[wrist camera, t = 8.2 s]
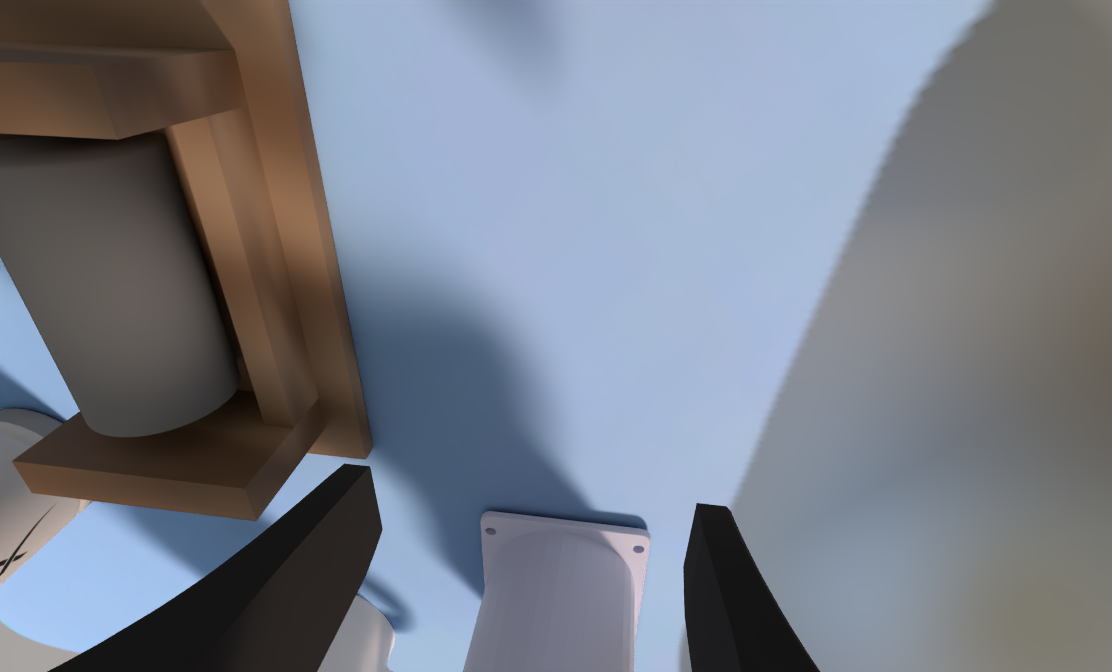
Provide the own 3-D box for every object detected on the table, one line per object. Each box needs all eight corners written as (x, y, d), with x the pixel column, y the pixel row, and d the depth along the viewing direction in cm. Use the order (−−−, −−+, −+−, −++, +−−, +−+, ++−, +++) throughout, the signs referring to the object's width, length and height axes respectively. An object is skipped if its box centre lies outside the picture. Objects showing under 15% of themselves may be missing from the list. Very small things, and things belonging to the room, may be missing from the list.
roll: (268, 365, 23) (173, 447, 19) (161, 350, 24) (47, 425, 20) (202, 135, 18) (57, 174, 14) (72, 126, 19) (-101, 161, 15)
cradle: (373, 447, 26) (306, 557, 21) (133, 421, 27) (15, 519, 22) (285, -14, 17) (127, -21, 12) (-72, -22, 18) (-357, -32, 13)
